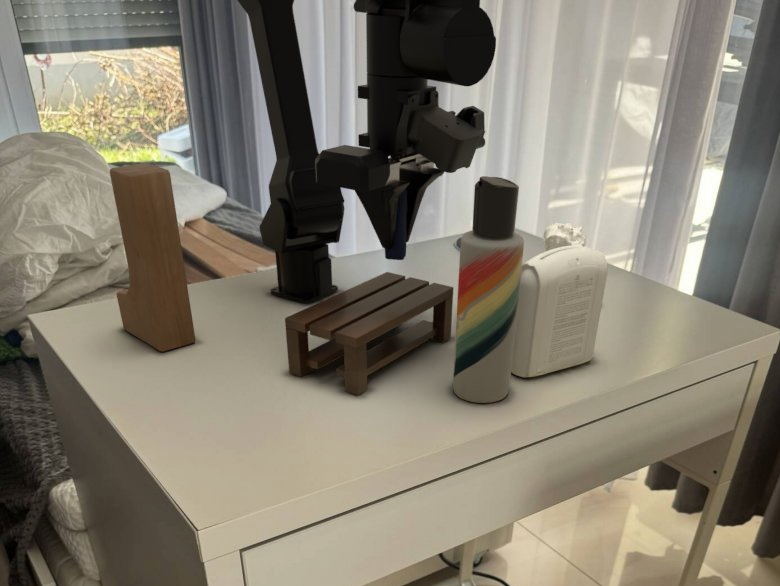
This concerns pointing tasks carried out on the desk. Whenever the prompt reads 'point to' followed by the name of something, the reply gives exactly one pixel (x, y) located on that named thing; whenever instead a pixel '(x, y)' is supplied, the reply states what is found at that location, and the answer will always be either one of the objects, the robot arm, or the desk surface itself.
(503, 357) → the lotion bottle
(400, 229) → the eraser
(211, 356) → the desk surface
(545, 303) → the photo printer
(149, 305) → the wooden block
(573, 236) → the bust
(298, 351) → the rack
